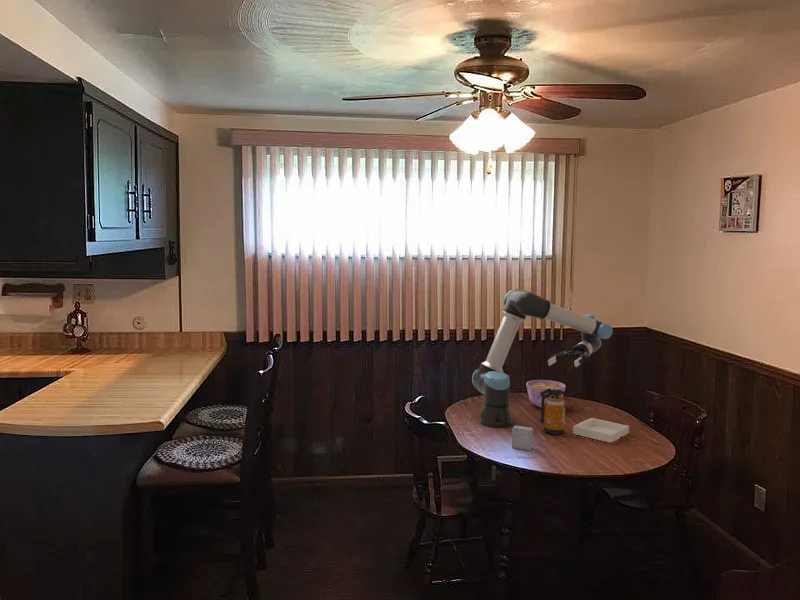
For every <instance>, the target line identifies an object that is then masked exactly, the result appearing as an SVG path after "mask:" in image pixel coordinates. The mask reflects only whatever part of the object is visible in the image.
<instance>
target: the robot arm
mask: <svg viewBox="0 0 800 600" xmlns="http://www.w3.org/2000/svg"><path fill="white" fill-rule="evenodd" d="M502 314H503V317H502V320H501V323H500V325H499V327H498V329H497V332H496V334H495V337H494V340H493V342H492V344H491V347H490V349H489V351H488V353H487V357H486V359H485V361H482V362H481V363H480V366H479V367H478V368H477V369H475V370H474V372H473V374H472V377H471V382H472V385H473V387H474V388H475V390H476V391H478V392H479V393H481V394H482V395H483V408H482V410H481V413H480V416H479V423H480V424H481V425H483V426H486V427H490V428H491V427H493V428H505V427H510V426H512V424H513V418H512V413H511V411H510V386H511V382H510V381H511V380H510V376H509V375H508V374H507V373H505V372H504V370H503V365H504V364H505V361H506V359H507V356H508V354H509V351H510V349H511V347H512V344H513V342H514V339H515V336H516V334H517V332H518V329H519V327H520V324H521V323H523V322H524V321H525V320H526V318H527V317H530V318H531V317H533V318H536V319H539V320H549V321H551V322H554V323H557V324H559V325H562V326H566V327H568V328H571V329H573V330H577V331H579V332H580V335H581V341H580V342H579V343H577V344H575V345H574V346H573V347H572V348H571V350H570V351H567V350H563V351H561V352H557V353H554V354H550V355H549V357H550V358H549V359H548V360H547V364H548V366H552V365H553V364H555V363H556V362H557V361H563V360H571V359H575V360H574V361H573V363H574V367H575V368H578V367H579V366H580V365H582V364H583V363H586V362H587V363H590V357H591V355H592V354H594V353H595V352H596V351H598V350H599V349H600V348H601V345H602V341H601V339H602V340H608V339H609V338H610V337H612V335H613V327H612V326H611V325H610V324H609V323H606V322H602V321H599V320H597V319H596V318H595V315H594V314H593V313H586V314H580V313H579V312H578V313H577V312H575V311H573V310H570V309H567V308H564V307H561V306H559V305H556V304H553V303H552V302H551V300H548V299H546V298H544V297H541V296H540V295H538V294H536V293H534V292H531V291H528V290H526V289H521V288H514V289H511V290H508V292H506V294H505V296H504V298H503V309H502Z"/></svg>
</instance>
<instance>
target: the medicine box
mask: <svg viewBox="0 0 800 600" xmlns="http://www.w3.org/2000/svg"><path fill="white" fill-rule="evenodd" d="M511 431H512V432H511V434H512V435H511V448H512V449H517V448H519V449H518V450H523V449H525V451H531V450H532V449H531V448H533V447H534V445H533V444H534V443H533V441H534V439H533V438H534V437H533V436H534V428H533V427H527V426H521V425H514V426H513V427H512V430H511Z"/></svg>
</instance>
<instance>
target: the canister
mask: <svg viewBox="0 0 800 600" xmlns="http://www.w3.org/2000/svg"><path fill="white" fill-rule="evenodd" d="M546 393H548V394H546ZM545 394H546V395H545ZM561 394H563V395H565V391H564V392H563V391H562V390H561V389H559V390H556V389H550V388H548V389H547V390H545V391H543V392H541V397H542V402H541V405H542V408H541V410H540V411H541V414H540V415H541V416H540V417H541V418H540V419H539V422H540V423H541V424H542V425H543V431H544V432H546V433H547V432H548V433H547V434H549V433H551V434H550V435H560V434H564V432H565V416H566V404H565V400H564V398H562V397H559V396H561ZM546 398H547V399H546ZM545 399H546V403H545V408H544V401H545Z"/></svg>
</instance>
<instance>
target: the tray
mask: <svg viewBox="0 0 800 600" xmlns="http://www.w3.org/2000/svg"><path fill="white" fill-rule="evenodd" d="M628 433H629V434H630V426H629V425H627V424H622V423H617V422H613V421H608V420H605V419H604V420H603V419H598V418H595V417H591V418H588V419H586V420H584V421H581V422H579V423H577V424H575V425H573V426H572V435H573V434H576V435H581V436H585V437H589V438H593V439H598V440H602V441H607V442H613V441H615V440H617V439H619V438H620V437H622V436H624V435H626V434H628ZM576 435H575V436H576Z"/></svg>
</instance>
